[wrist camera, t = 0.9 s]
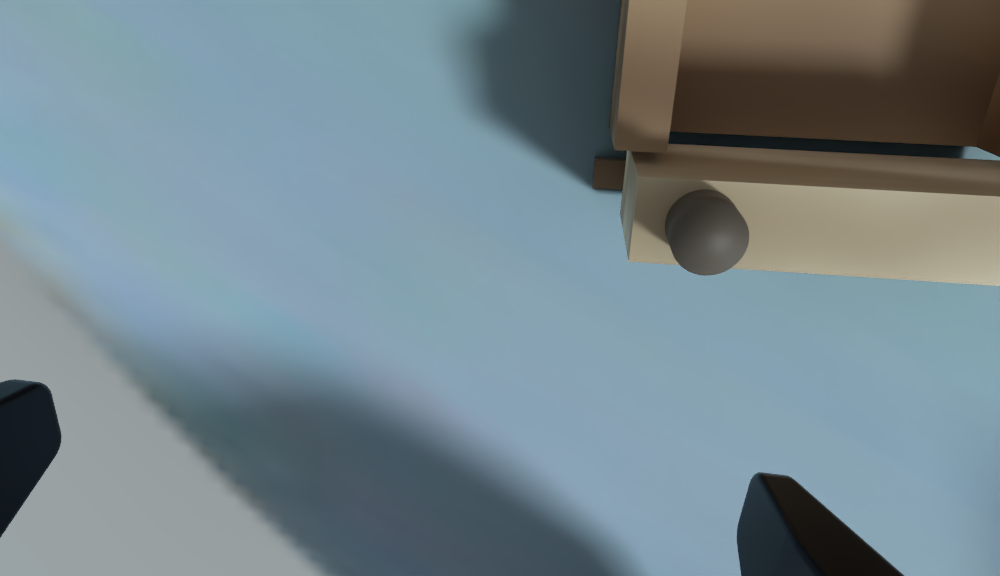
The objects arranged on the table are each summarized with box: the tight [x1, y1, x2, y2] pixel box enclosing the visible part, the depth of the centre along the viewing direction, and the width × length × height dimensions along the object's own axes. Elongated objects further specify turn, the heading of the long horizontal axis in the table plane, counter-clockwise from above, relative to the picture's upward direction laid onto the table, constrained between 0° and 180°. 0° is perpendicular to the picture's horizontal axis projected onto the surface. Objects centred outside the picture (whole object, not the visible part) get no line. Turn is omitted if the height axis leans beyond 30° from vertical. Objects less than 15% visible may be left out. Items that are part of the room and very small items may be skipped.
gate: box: [620, 144, 1000, 286], centre depth 16 cm, size 2×9×4 cm, turn 89°
